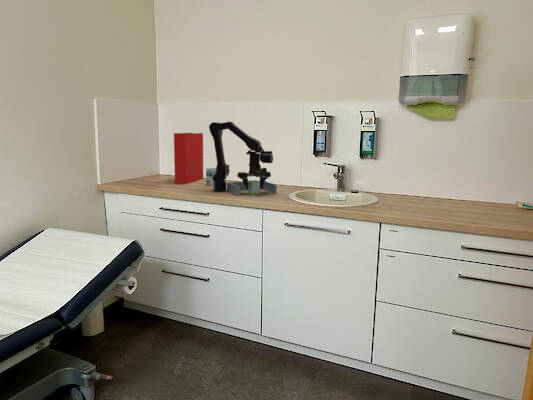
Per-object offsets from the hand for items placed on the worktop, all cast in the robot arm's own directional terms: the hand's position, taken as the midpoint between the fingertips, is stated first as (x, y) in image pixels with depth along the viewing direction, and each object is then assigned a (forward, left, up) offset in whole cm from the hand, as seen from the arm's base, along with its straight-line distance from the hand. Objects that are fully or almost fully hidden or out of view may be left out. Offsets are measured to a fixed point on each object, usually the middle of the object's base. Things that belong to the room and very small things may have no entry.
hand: (254, 189), depth 225 cm
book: (-23, +55, -2) cm, 60 cm away
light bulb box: (-11, +36, -2) cm, 38 cm away
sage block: (0, 0, -2) cm, 2 cm away
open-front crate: (0, +3, -2) cm, 4 cm away
